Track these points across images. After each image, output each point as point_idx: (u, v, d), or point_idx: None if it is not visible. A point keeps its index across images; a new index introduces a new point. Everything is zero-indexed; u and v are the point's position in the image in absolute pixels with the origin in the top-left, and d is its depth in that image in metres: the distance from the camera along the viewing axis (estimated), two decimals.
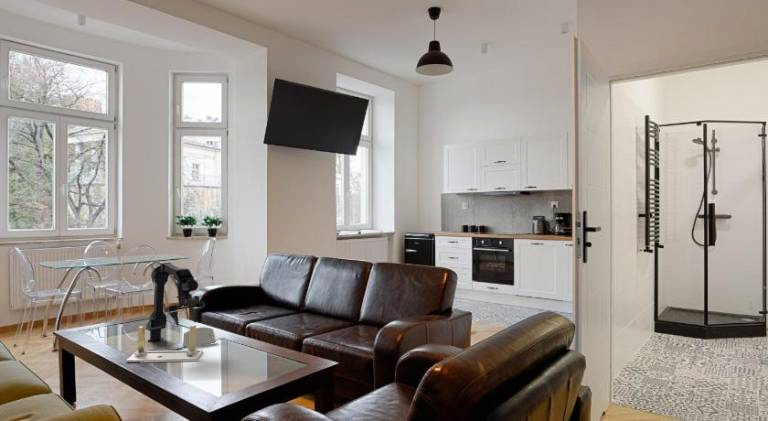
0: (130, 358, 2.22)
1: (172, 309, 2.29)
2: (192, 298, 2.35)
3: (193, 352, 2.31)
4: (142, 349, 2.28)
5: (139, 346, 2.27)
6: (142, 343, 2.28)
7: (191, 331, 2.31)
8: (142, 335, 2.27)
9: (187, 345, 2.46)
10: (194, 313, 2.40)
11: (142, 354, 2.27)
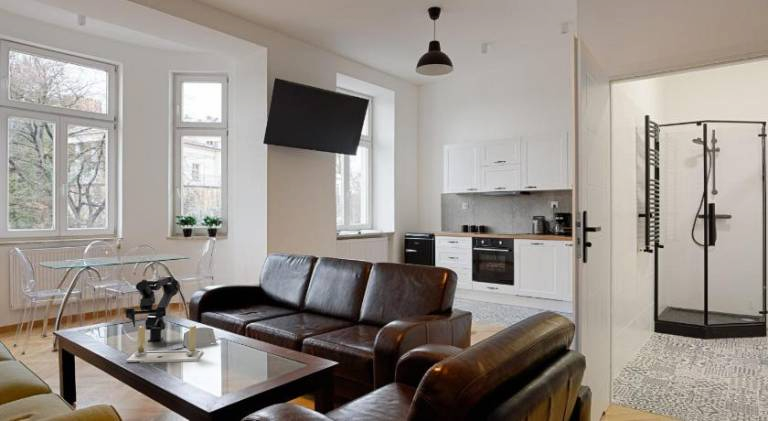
0: (130, 358, 2.22)
1: (128, 310, 2.36)
2: None
3: (193, 352, 2.31)
4: (142, 349, 2.28)
5: (139, 346, 2.27)
6: (142, 343, 2.28)
7: (191, 331, 2.31)
8: (142, 335, 2.27)
9: (187, 345, 2.46)
10: None
11: (142, 354, 2.27)
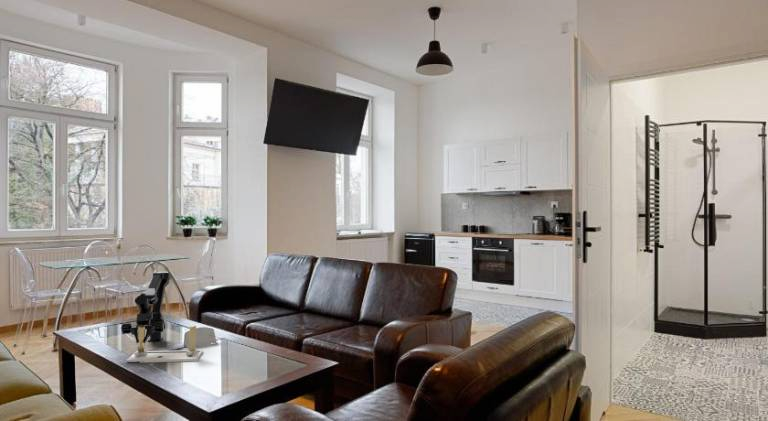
0: (130, 358, 2.22)
1: (124, 325, 2.28)
2: None
3: (193, 352, 2.31)
4: (142, 349, 2.28)
5: (139, 346, 2.27)
6: (142, 343, 2.28)
7: (191, 331, 2.31)
8: (142, 335, 2.27)
9: (187, 345, 2.46)
10: None
11: (142, 354, 2.27)
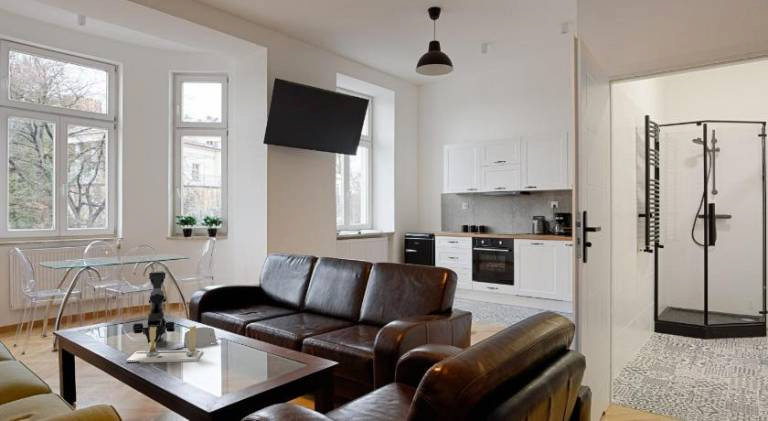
0: (130, 358, 2.22)
1: (136, 325, 2.29)
2: None
3: (193, 352, 2.31)
4: (154, 349, 2.29)
5: (151, 346, 2.28)
6: (154, 343, 2.28)
7: (191, 331, 2.31)
8: (154, 334, 2.28)
9: (187, 345, 2.47)
10: None
11: (154, 354, 2.27)
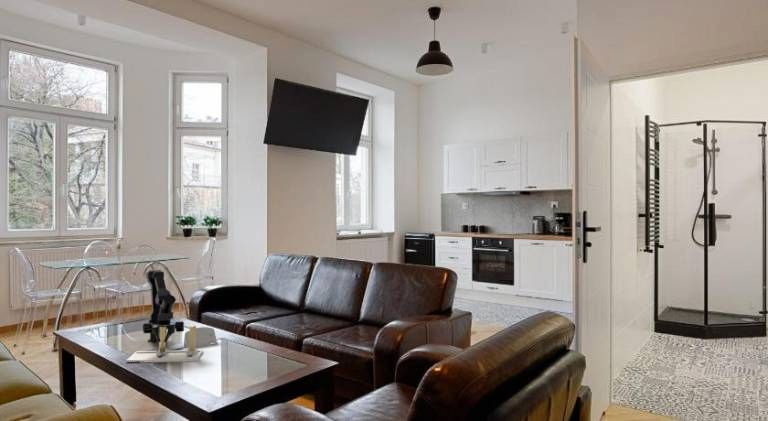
0: (130, 358, 2.22)
1: (145, 325, 2.29)
2: None
3: (193, 352, 2.31)
4: (163, 349, 2.29)
5: (160, 346, 2.29)
6: (163, 343, 2.29)
7: (191, 331, 2.31)
8: (163, 334, 2.29)
9: (187, 345, 2.47)
10: (167, 334, 2.33)
11: (163, 354, 2.28)
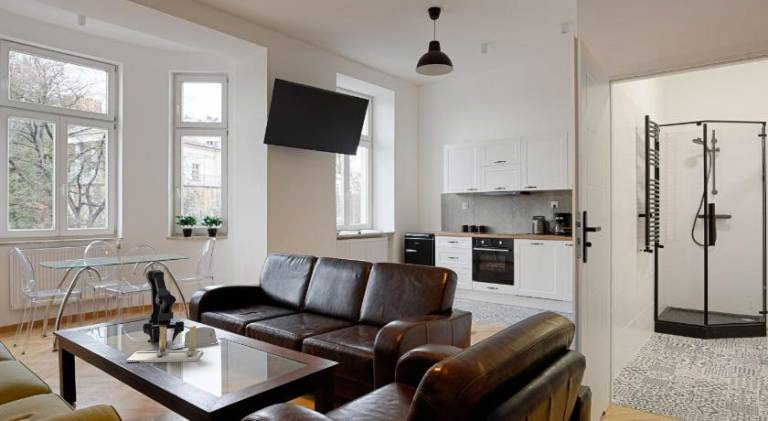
0: (130, 358, 2.22)
1: (146, 325, 2.30)
2: None
3: (193, 352, 2.31)
4: (163, 349, 2.29)
5: (161, 346, 2.29)
6: (163, 343, 2.29)
7: (191, 331, 2.31)
8: (164, 334, 2.29)
9: (188, 344, 2.47)
10: None
11: (164, 354, 2.28)
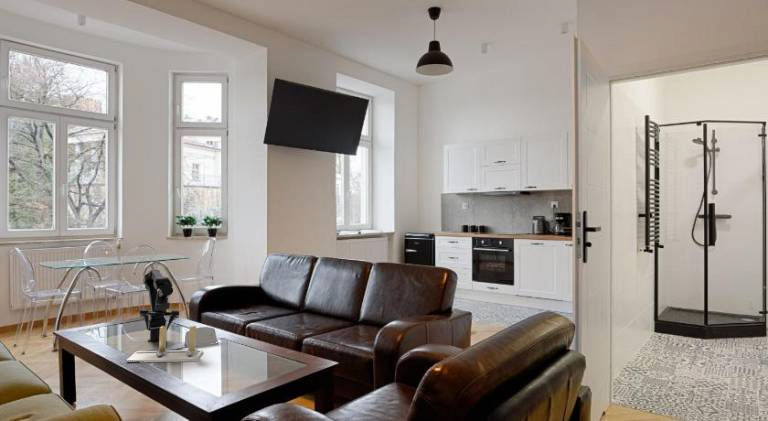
0: (130, 358, 2.22)
1: (142, 312, 2.37)
2: (163, 304, 2.40)
3: (193, 352, 2.31)
4: (163, 349, 2.29)
5: (161, 346, 2.29)
6: (163, 343, 2.29)
7: (191, 331, 2.31)
8: (164, 334, 2.29)
9: (188, 344, 2.47)
10: None
11: (164, 354, 2.28)
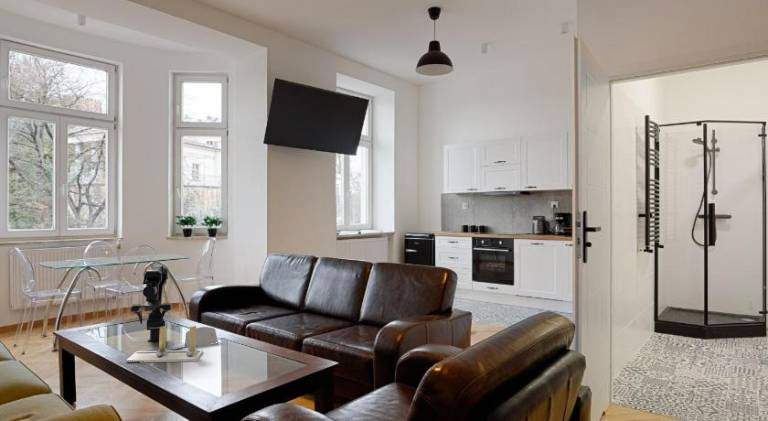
0: (130, 358, 2.22)
1: (133, 309, 2.38)
2: (153, 302, 2.38)
3: (193, 352, 2.31)
4: (163, 349, 2.29)
5: (161, 346, 2.29)
6: (163, 343, 2.29)
7: (191, 331, 2.31)
8: (164, 334, 2.29)
9: (188, 344, 2.47)
10: (161, 314, 2.45)
11: (164, 354, 2.28)
